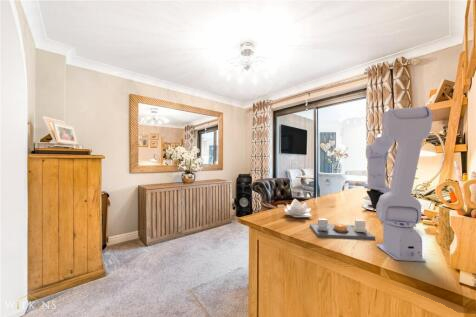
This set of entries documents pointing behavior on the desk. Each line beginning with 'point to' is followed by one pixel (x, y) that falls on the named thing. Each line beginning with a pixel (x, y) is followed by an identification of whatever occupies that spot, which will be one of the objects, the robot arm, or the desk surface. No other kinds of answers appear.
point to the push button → (340, 227)
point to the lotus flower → (298, 209)
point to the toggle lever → (360, 226)
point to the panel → (341, 233)
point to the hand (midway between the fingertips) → (376, 208)
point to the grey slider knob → (322, 225)
